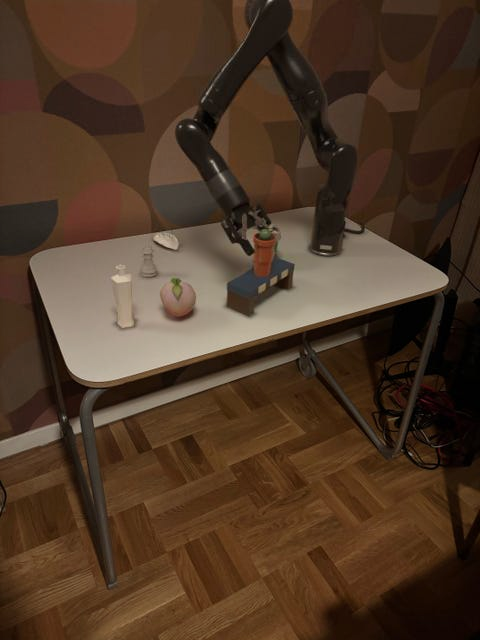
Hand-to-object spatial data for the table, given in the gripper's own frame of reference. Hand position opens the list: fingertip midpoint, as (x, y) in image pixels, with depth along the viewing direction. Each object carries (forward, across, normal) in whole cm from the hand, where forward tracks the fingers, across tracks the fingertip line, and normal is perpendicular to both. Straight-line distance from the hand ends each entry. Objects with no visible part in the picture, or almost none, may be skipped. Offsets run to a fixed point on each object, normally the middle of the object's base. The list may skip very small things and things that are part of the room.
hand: (262, 248), depth 125 cm
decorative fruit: (+3, -21, +16) cm, 26 cm away
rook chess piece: (-11, -11, +31) cm, 35 cm away
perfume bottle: (-2, -32, +21) cm, 38 cm away
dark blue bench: (+10, 0, +9) cm, 14 cm away
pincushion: (-19, +6, +38) cm, 43 cm away
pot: (+5, 0, +4) cm, 7 cm away
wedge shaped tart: (+3, +18, +16) cm, 25 cm away
